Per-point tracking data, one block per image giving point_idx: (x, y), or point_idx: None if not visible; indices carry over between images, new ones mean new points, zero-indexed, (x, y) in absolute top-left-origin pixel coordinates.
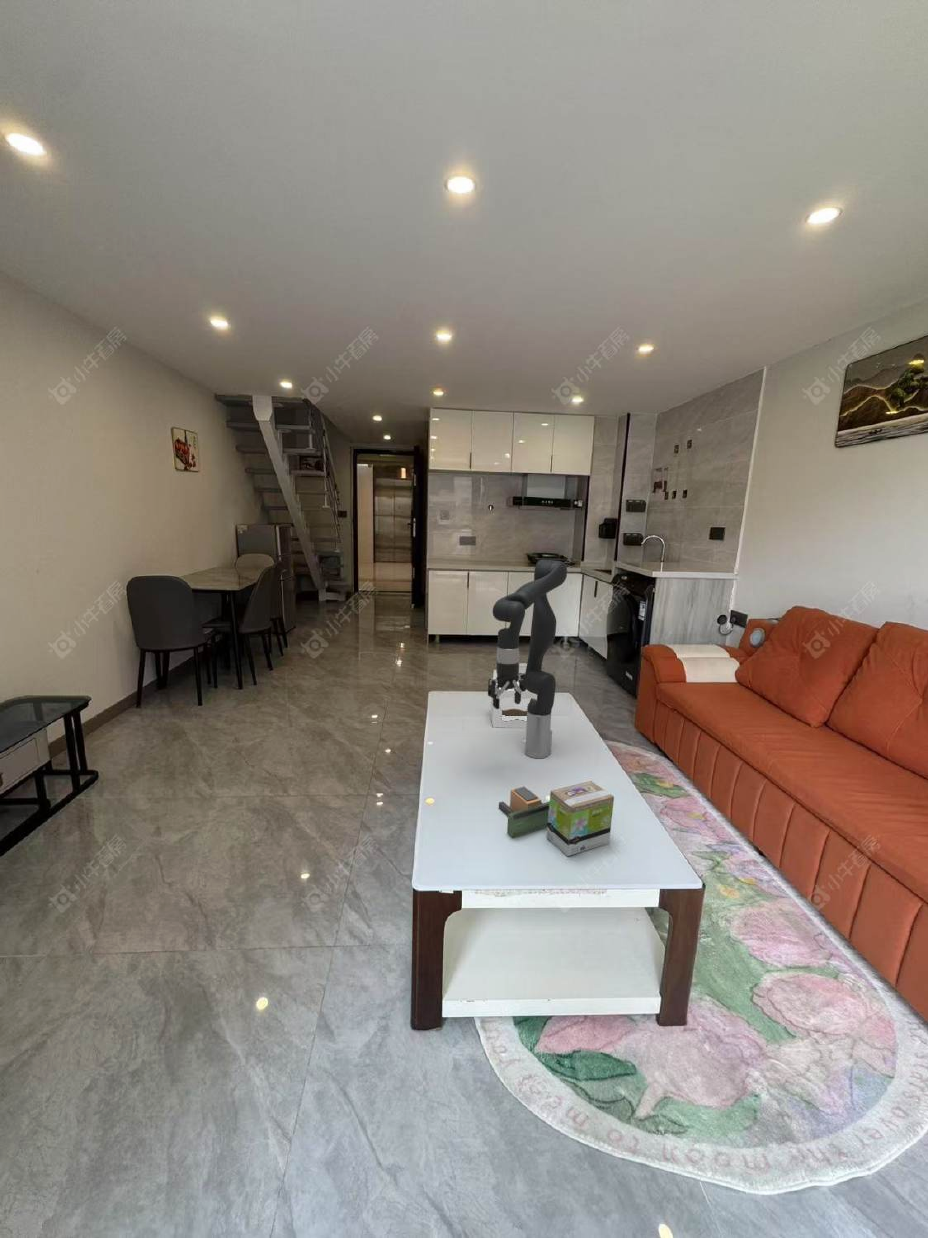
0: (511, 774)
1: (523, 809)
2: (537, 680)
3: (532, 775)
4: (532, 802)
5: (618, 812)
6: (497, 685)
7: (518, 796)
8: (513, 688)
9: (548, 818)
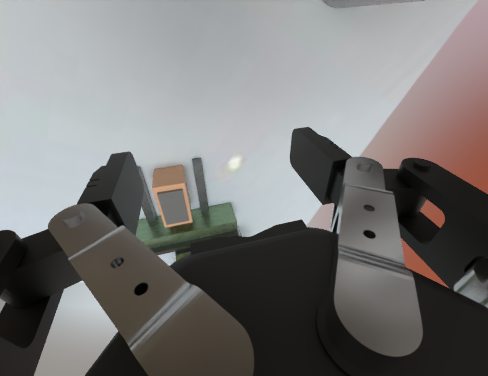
0: (215, 52)
1: (149, 239)
2: None
3: (256, 79)
4: (174, 225)
5: (290, 211)
6: (104, 310)
7: (158, 207)
8: (340, 197)
9: (176, 260)
